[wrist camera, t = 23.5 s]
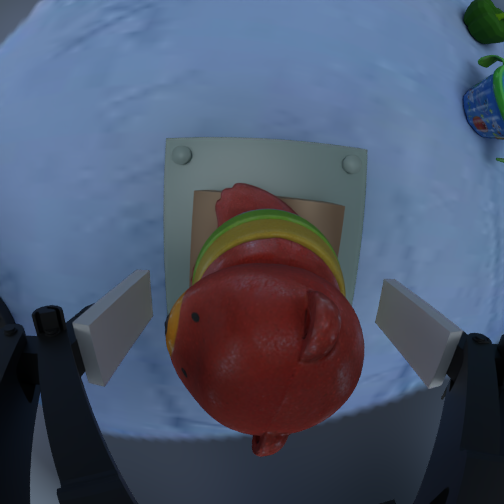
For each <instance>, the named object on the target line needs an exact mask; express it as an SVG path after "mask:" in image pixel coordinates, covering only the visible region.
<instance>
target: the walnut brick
mask: <svg viewBox="0 0 504 504" xmlns="http://www.w3.org/2000/svg"><path fill="white" fill-rule="evenodd" d="M221 192H222V191H217V190H195V191H194V198H193V213H192V229H191V249H190V276H189V288H190V287H191V286H192V285H191V277H192V276H193V274H192V269H193V267H194V265H195V264H196V261H197V258H198V255H199V253H200V251H201V249H202V247H203V245H204V243H205V242H206V240H207V239H208V238H209V236H210V235H211V234H212V233H213V232H214V231H215V230H216V229H217V226H218V224H217V216H216V211H215V204H216V202H217V200H219V199H220V198H221ZM276 197H278V198H279V199H281V200H282V201H284V202H285V203H286V204H287V205H288V206H290V207H291V208H292V209H293V210H294V211H295V212H296V213H297V214H298V216H300V217H302V218H304V219H305V220H307V221H308V222H310V223H311V224H313V225H314V226H315V227H316V228H317V229H318V230H319V231H320V232H321V233H322V234H323V235H324V236H325V237H326V239H327V240H328V241H329V243H330V244H331V246H332V248H333V250H334V251H335V253H336V256H337V258H338V254H339V247H340V241H341V234H342V227H343V220H344V212H345V206H343V205H338V204H334V203H330V202H324V201H316V200H308V199H300V198H292V197H283V196H276Z"/></svg>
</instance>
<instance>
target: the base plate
mask: <svg viewBox="0 0 504 504" xmlns="http://www.w3.org/2000/svg"><path fill="white" fill-rule="evenodd" d="M366 175H367V150H366V149H360V148H353V147H346V146H339V145H331V144H323V143H313V142H303V141H292V140H279V139H262V138H233V137H194V138H166V151H165V172H164V262H165V284H166V300H167V314H168V315H169V313H170V311H171V309H172V307H173V306H174V304H175V303H176V301H177V300H178V298H179V297H180V296H181V295H182V294H183V293H184V292H185V291H186V290H187V289H189V276H190V249H191V229H192V213H193V198H194V191H195V190H217V191H222V190H223V189H225V188H232V187H233V185H234V184H235V183H246V184H250V185H253V186H256V187H259V188H261V189H263V190H266V191H268V192H269V193H271V194H273V195H275V196H283V197H292V198H300V199H308V200H316V201H324V202H330V203H334V204H338V205H343V206H345V212H344V220H343V227H342V234H341V241H340V247H339V254H338V260H339V264H340V267H341V271H342V274H343V278H344V283H345V292H346V299H347V300H348V301H349V303H350V304H351V306H352V301H353V295H354V289H355V283H356V277H357V270H358V262H359V255H360V247H361V238H362V229H363V218H364V206H365V193H366Z"/></svg>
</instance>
